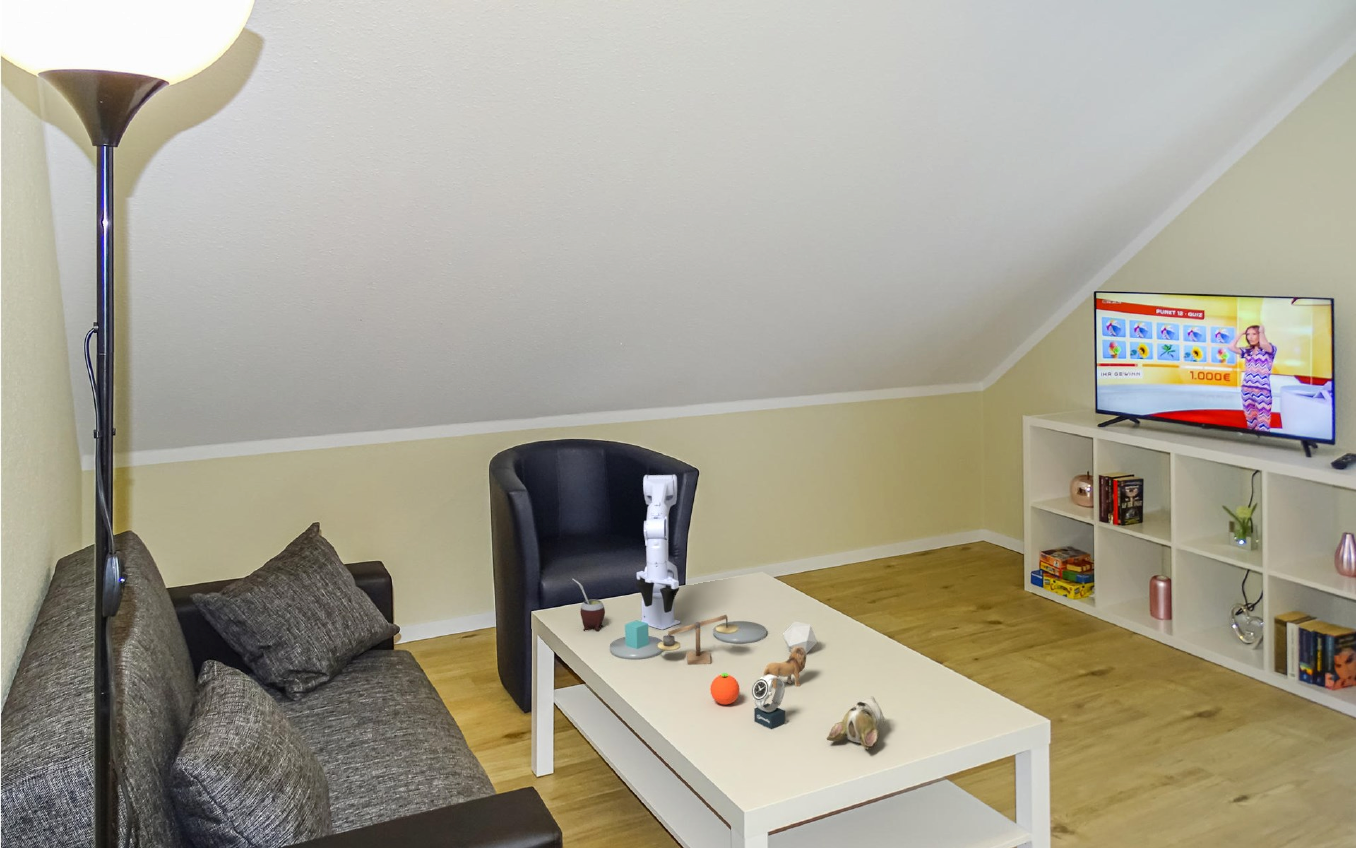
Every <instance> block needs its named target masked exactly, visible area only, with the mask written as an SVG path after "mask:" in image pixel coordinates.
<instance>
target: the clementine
mask: <svg viewBox="0 0 1356 848" xmlns="http://www.w3.org/2000/svg"><path fill="white" fill-rule="evenodd" d="M709 690H710V695H711V697H712V699H714V701H715V702H717V704H719V705H720V704H721V705H730V704H732V703H734V702H735V701H736V700H737V698H738V697H739V695H740V684H739V682H738V681H737V679H736V678H735V677H733V676H732V675H730V674H729V673H728V672H723V673H721V674H720V675H718V676H716V677H715V678H714V679H712V682H711V684H710V688H709Z"/></svg>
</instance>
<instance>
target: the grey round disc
mask: <svg viewBox="0 0 1356 848" xmlns="http://www.w3.org/2000/svg"><path fill="white" fill-rule="evenodd" d="M720 624H726V622H723V623H719V624H718V625H720ZM728 624H734V625H736V626H738V631H737V632H735V633H731V634H723V633H719V632H717V631H716V626H715V627H714V628H713V629H712V631H713V632H712V633H713V637H714V638H715V639H716V640H717V641H721V642H723V643H729V644H737V645H738V644H739V645H740V644H741V645H742V644H750V643H751V644H752V643H756V642H759V641H762V640H764V639H765V638H766V637H767V628H766V627H765V626H764V625H763V624H760V623H757V622H753V621H744V620H741V621H740V620H737V621H728Z"/></svg>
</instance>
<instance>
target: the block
mask: <svg viewBox="0 0 1356 848" xmlns="http://www.w3.org/2000/svg"><path fill="white" fill-rule="evenodd" d="M641 621H642V620H639V619H638V620H633V621H631V622H628V623H625V624H624V633H625V634H624V637H625V644H626V646H629V647H632V648H635V649H639V648H642V647H644V646H647V645H649V636H650V635H649V633H650V632H649V626H648V623H645V622H641Z"/></svg>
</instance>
